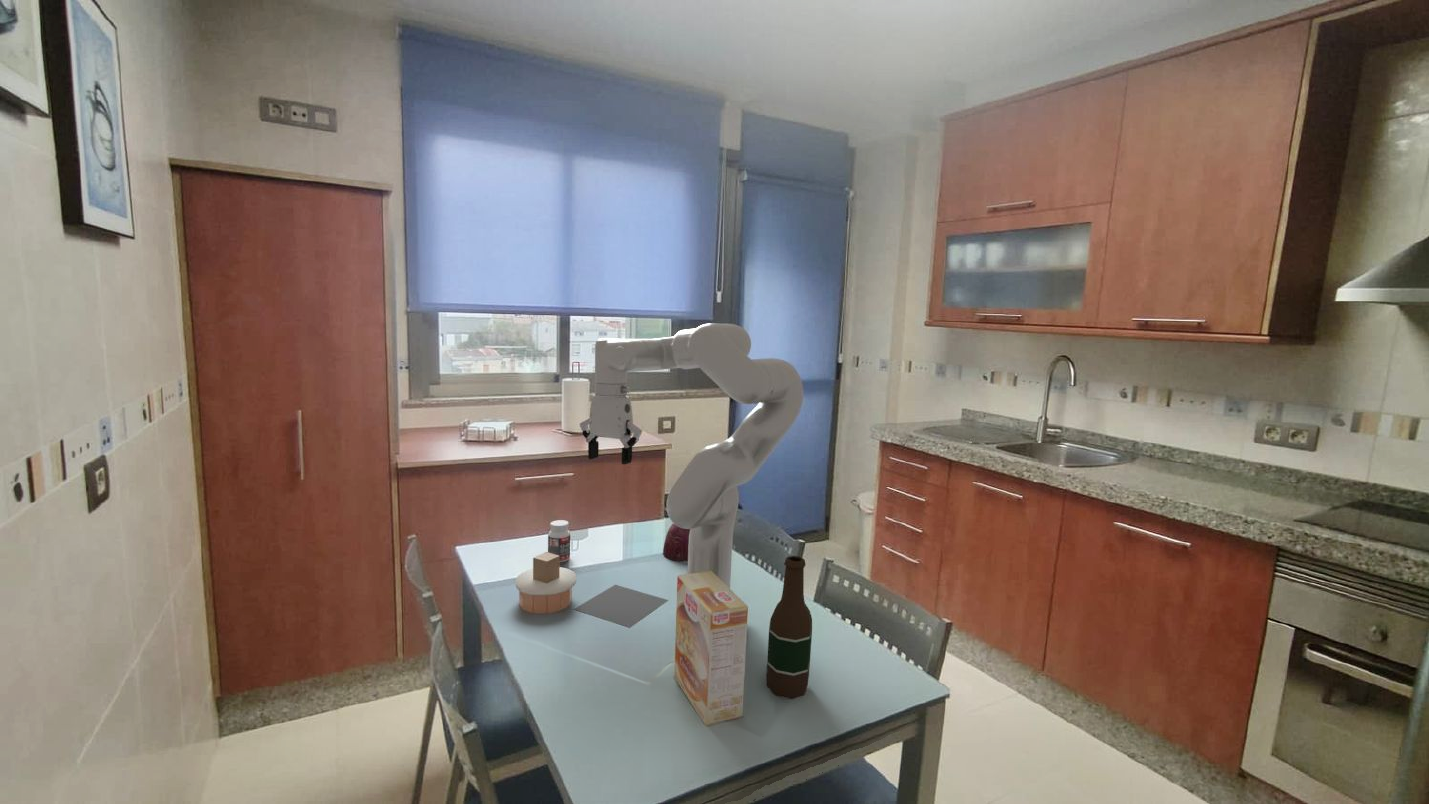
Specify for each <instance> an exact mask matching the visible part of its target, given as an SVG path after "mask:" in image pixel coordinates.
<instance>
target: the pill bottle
mask: <svg viewBox="0 0 1429 804" xmlns="http://www.w3.org/2000/svg"><path fill="white" fill-rule="evenodd" d="M569 524H570V523H569V521H568V520H565V519H564V520H563V519H558V520H557V519H556V520H553V521H551V522H550V526H549V527H550V531H548V534H547V552H548V553H552V554H555V555H559V556H560V563H565V562H567V561H569V560H570V558H571V531H570V530H569V529H568V528H570V527H569V526H570V525H569Z"/></svg>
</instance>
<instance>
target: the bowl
mask: <svg viewBox="0 0 1429 804" xmlns="http://www.w3.org/2000/svg"><path fill="white" fill-rule="evenodd" d="M518 594H519V595H518V598H519V599H518V601H519V603H518V604H519V606H520V607H521V609H522V610H523V611H525V612H528V613H531V614H542V615H543V614H551V613H555V612H561V611H563V610H564V609H566V608H567V607H569V606H570V605H571V604H572V603H571V602H572V600H573V596H572V595H573V587H572V588H570V589H569V590H567V591H564V592H561V593H558V594H553V595H530V594H526V593H523V592H521V591H519V590H518Z"/></svg>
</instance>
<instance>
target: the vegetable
mask: <svg viewBox="0 0 1429 804" xmlns="http://www.w3.org/2000/svg"><path fill="white" fill-rule="evenodd" d="M668 528H669V529H668V531H666V532H667V533H666V536H665V540H664V543H663V549H662V555H663V556H664V558H666V559H668V560H670V561H674V562H679V563H680V562H682V563H683V562H688V545H689V534H690V529H683V528H680V527H678V526H676V525H675V524H674V523H673V522H672V524H671V525H670V527H668Z"/></svg>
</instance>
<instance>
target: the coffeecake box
mask: <svg viewBox="0 0 1429 804" xmlns="http://www.w3.org/2000/svg"><path fill="white" fill-rule="evenodd" d="M676 579H677V583H676V585H677V586H676V587H677V588H676V610H675V611H676V612H675V613H676V615H675V616H676V617H675V639H674V640H675V641H674V642H675V643H674V644H675V645H674V671H673V673H674V674H673V678H674V679H675V681H676V682H677V683H678V685H679V687H680V688H681V690H682V692H683V694H685V697H687V699H688V700H689V702H690V703H691V705H692V707H693V708H694V709H695V711H696V713H697V714H698V715H699V717H700V718H701V720H702V722H703V723H704V725H705V726H711V725H714V724H719V723H721V722H725V721H730V720H735V719H739V718H743V713H744V693H745V692H744V691H745V675H746V674H745V673H746V672H745V670H746V657H747V655H746V654H747V653H746V652H747V650H746V649H747V638H748V637H747V633H748V613H749V605H747V603H745V601H743V600H742V598H740V597H739V596H738V595H737V594H736V593H735V592H734V591H733V590H732V589H731V587H730V588H729V587H728V586H727V585H726V584H725V583H724V582H723V581H722V580H720V579H719V578H718V577H717V576H716V575H715V574H714V573H713V572H712V571H707V572H700V573H692V574H691V573H688V574H687V573H683V574H678V575H677V578H676Z"/></svg>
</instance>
